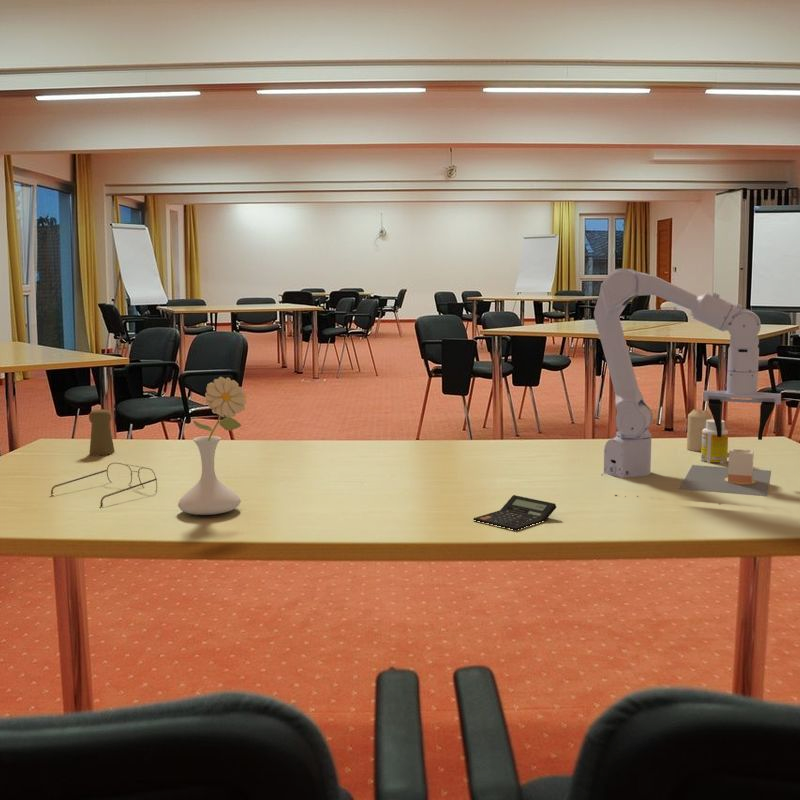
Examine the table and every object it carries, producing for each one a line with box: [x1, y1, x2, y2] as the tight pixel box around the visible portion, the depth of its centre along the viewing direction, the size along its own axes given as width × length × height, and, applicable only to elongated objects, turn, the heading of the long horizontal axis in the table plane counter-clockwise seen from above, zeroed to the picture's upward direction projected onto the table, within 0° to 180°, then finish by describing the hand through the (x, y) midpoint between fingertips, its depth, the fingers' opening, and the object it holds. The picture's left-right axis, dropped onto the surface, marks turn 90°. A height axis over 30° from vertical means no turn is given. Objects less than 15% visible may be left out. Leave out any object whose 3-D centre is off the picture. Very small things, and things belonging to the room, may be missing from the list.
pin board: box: [678, 464, 772, 497], centre depth 179 cm, size 24×16×5 cm, turn 156°
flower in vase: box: [177, 376, 247, 516], centre depth 160 cm, size 13×11×25 cm
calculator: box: [472, 494, 557, 530], centre depth 155 cm, size 9×12×3 cm
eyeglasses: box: [50, 462, 158, 506], centre depth 177 cm, size 16×15×5 cm
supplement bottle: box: [700, 418, 729, 464], centre depth 197 cm, size 6×6×10 cm
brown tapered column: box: [88, 408, 116, 456], centre depth 218 cm, size 6×6×11 cm
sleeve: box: [727, 448, 755, 483], centre depth 177 cm, size 4×4×6 cm
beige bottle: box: [686, 408, 713, 452], centre depth 215 cm, size 6×6×10 cm
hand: (739, 437), depth 177 cm, fingers open, 7 cm apart
